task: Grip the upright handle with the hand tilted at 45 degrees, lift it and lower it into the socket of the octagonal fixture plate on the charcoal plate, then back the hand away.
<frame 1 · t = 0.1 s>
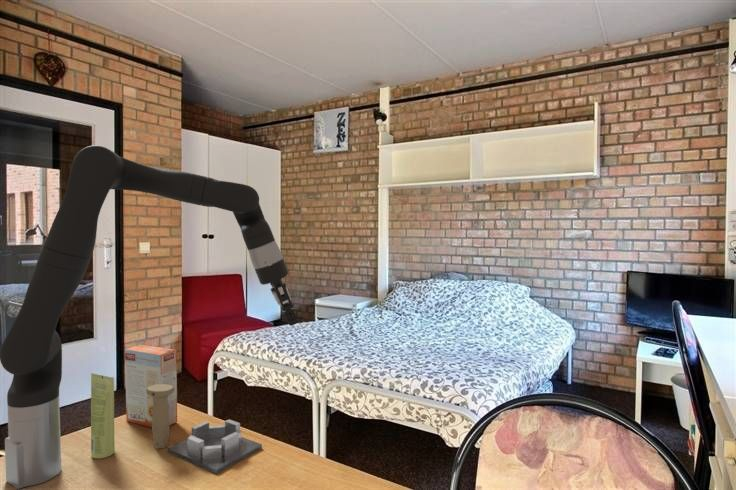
hand: (291, 320, 117), 31 cm above the table, tool tilted 20°, fingers open, 8 cm apart
handle: (161, 446, 115), on the table
tube: (103, 455, 111), on the table
octagonal fixture plate: (215, 450, 113), on the table
cracker box: (152, 422, 129), on the table
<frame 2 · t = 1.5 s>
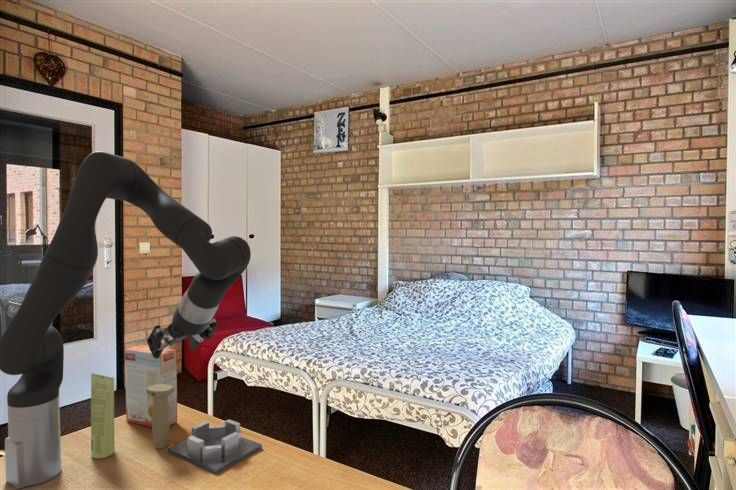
hand: (173, 351, 106), 26 cm above the table, tool tilted 45°, fingers open, 8 cm apart
nothing on the table moved.
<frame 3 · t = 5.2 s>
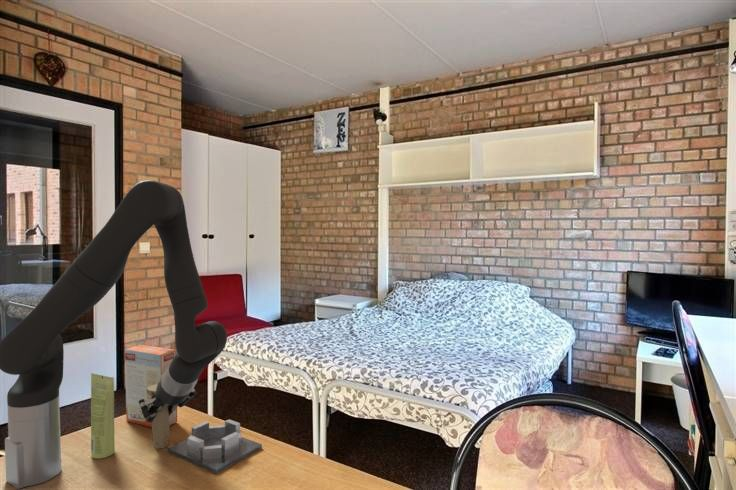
hand: (157, 416, 116), 7 cm above the table, tool tilted 45°, fingers closed on handle, 3 cm apart
handle: (161, 446, 115), on the table, touching gripper
everything else where it was.
when the fingers open (9 cm above the table, at t = 10.6 s): handle drops 1 cm, resting on octagonal fixture plate.
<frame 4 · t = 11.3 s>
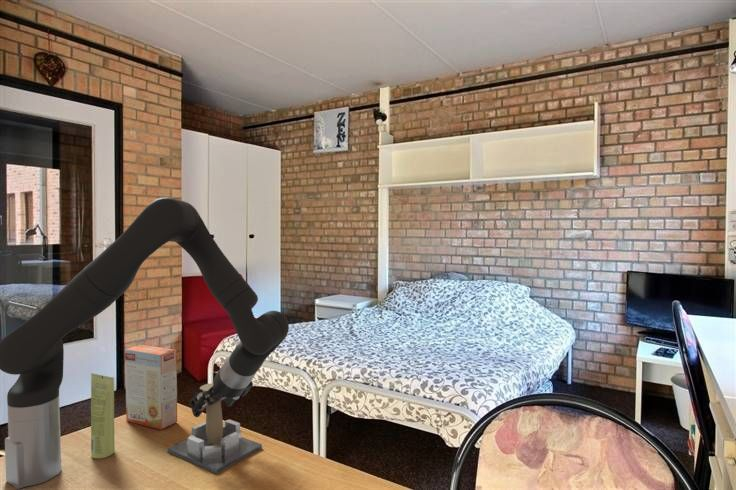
hand: (211, 408, 113), 10 cm above the table, tool tilted 45°, fingers open, 8 cm apart
handle: (215, 447, 113), point 1 cm above the table, touching octagonal fixture plate
everything else where it was.
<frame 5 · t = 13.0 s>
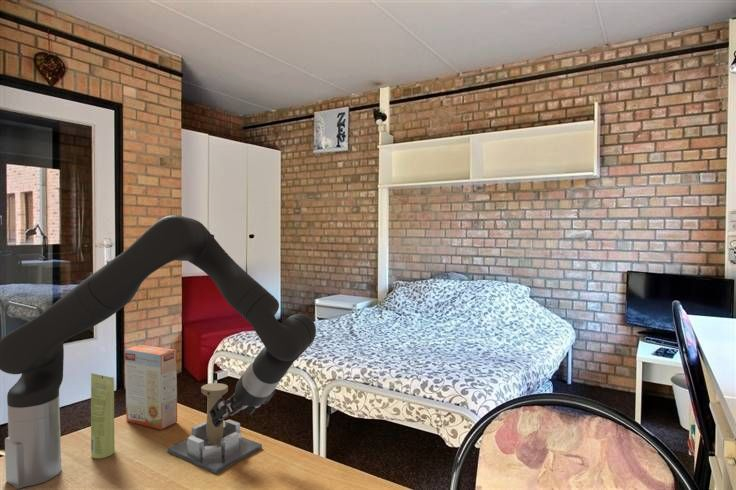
hand: (231, 417, 108), 10 cm above the table, tool tilted 45°, fingers open, 8 cm apart
nothing on the table moved.
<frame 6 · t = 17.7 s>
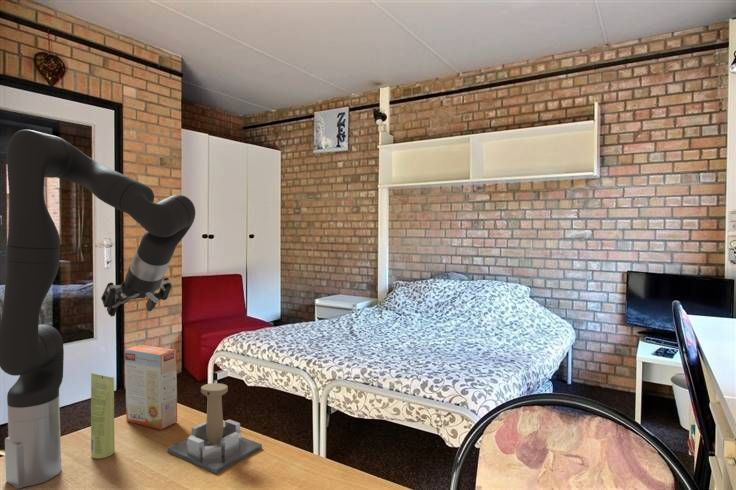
hand: (130, 310, 111), 35 cm above the table, tool tilted 45°, fingers open, 8 cm apart
nothing on the table moved.
at the end: handle 0.1 cm off-centre on the octagonal fixture plate, point 0.8 cm above the octagonal fixture plate's base; handle tilted 0°; the gripper is holding nothing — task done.
